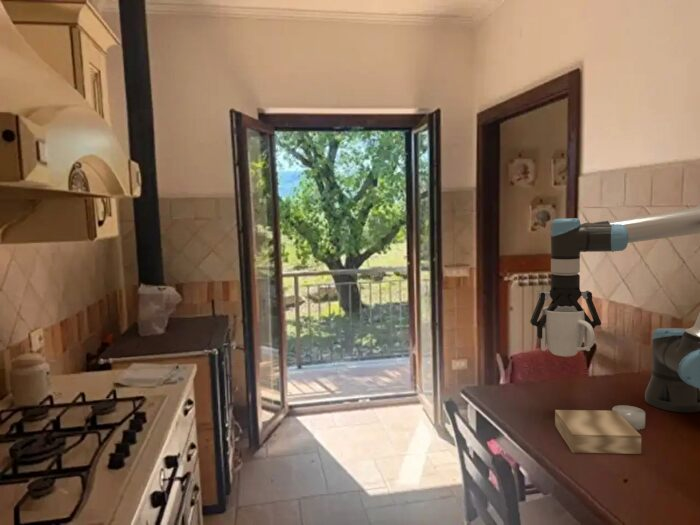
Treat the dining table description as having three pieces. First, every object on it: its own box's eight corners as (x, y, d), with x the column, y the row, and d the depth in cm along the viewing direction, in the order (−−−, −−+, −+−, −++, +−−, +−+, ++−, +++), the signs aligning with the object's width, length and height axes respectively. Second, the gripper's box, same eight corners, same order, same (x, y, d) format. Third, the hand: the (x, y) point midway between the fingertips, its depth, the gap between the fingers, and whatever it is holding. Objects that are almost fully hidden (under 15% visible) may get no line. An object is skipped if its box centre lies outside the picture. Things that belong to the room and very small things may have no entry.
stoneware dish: (637, 419, 146) (637, 405, 146) (650, 430, 138) (650, 416, 138) (607, 418, 147) (608, 405, 147) (618, 430, 139) (619, 416, 139)
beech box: (615, 428, 141) (616, 410, 141) (641, 455, 125) (641, 435, 125) (555, 427, 143) (555, 409, 143) (572, 453, 127) (572, 434, 127)
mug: (606, 356, 142) (605, 310, 141) (581, 364, 137) (581, 316, 135) (559, 346, 155) (558, 303, 154) (535, 353, 149) (534, 308, 148)
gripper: (605, 271, 146) (604, 346, 148) (519, 272, 150) (519, 345, 152) (614, 274, 139) (613, 353, 141) (523, 275, 143) (524, 352, 145)
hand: (564, 349), depth 147 cm, fingers closed on mug, 11 cm apart
